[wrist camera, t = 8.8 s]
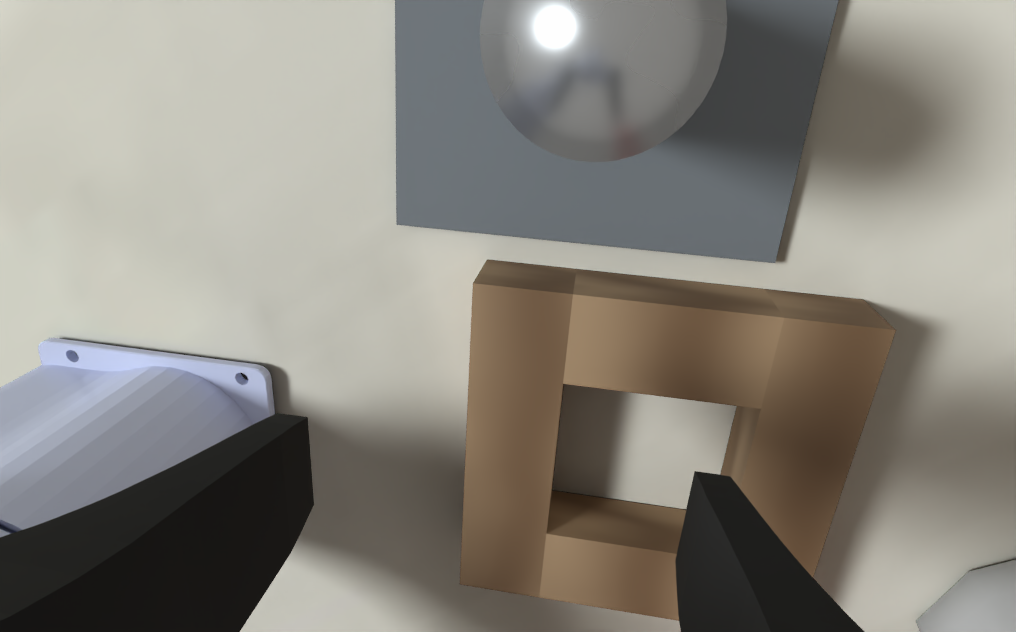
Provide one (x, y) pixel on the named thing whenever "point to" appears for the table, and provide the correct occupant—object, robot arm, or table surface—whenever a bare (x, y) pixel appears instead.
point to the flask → (976, 603)
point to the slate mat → (621, 183)
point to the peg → (601, 70)
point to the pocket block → (662, 372)
